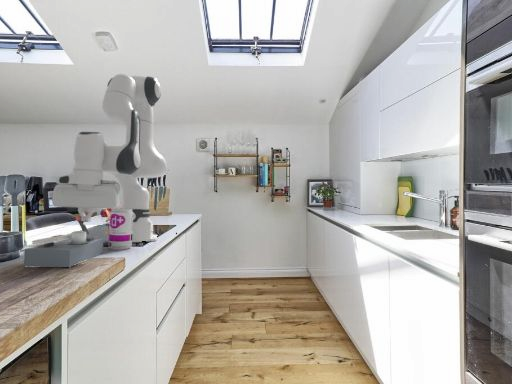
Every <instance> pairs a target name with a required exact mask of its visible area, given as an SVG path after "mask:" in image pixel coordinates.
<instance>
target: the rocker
mask: <svg viewBox="0 0 512 384" xmlns="http://www.w3.org/2000/svg"><path fill="white" fill-rule="evenodd" d="M65 238H66V235H65V234H63V235H62V234H58V235H53V236H51V237H45V238H39V239H35V240H32V241H31V243H32V245H37V244H38V245H39V244H42V243H43V244H44V243H50V242H54V241H57V240H61V239H65Z"/></svg>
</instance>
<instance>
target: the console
mask: <svg viewBox="0 0 512 384" xmlns="http://www.w3.org/2000/svg"><path fill="white" fill-rule="evenodd" d="M71 238H72V237H65V238H64V239H60V240H55V241H49V242H45V243H43V244H42V243H41V244H38V245H33V246H30V247H28V248H24V254H23V256H24V259H23V267H24V266H40V267H70V266H72V265H74V264H77V263H79V262H81V261H84V260H86V259H89V260H91V259H94V258H95V257H98V256H100V255H103V252H104V238H95V237H92V236H89V237H88V236H86V244H81V245H73V244H71ZM90 258H91V259H90ZM84 262H85V261H84Z"/></svg>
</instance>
